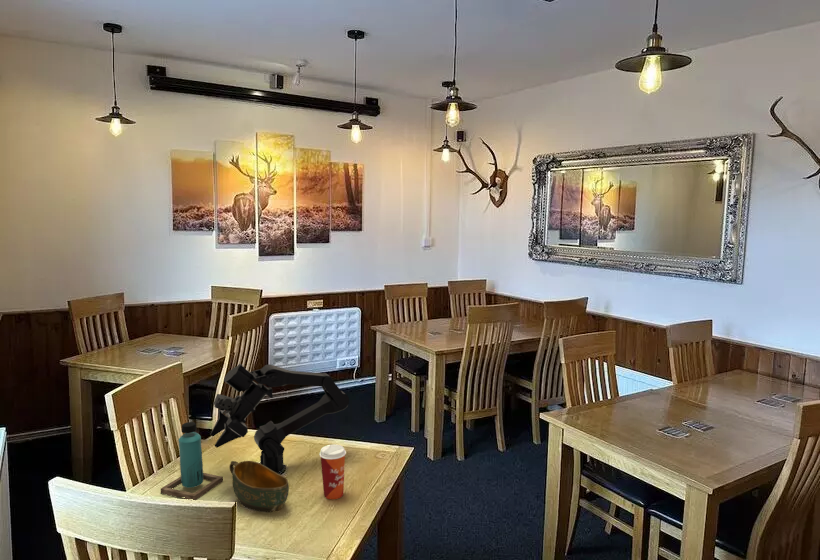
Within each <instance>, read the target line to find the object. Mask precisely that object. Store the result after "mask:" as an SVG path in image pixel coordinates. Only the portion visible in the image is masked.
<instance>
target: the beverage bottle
mask: <svg viewBox="0 0 820 560" xmlns="http://www.w3.org/2000/svg"><path fill="white" fill-rule="evenodd" d="M196 431H197V423H196V422H195V421H187V422H184V423H182V424H181V433H183V434H182V435H180V437H179V438H178V440H177V441H178V448H179V449H178V450H179V466H180V467H179V471H180V476H179V477H181V486H182V487H184V488H188V489H189V488H191V489H192V488H195V487H198V486H200V485H202V484H203V482H204V480H203V477H204V476H203V473H205V471H204V463H203V450H202V449H203V447H202V436H201V435H200V434H199V433H198V432H196Z"/></svg>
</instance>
